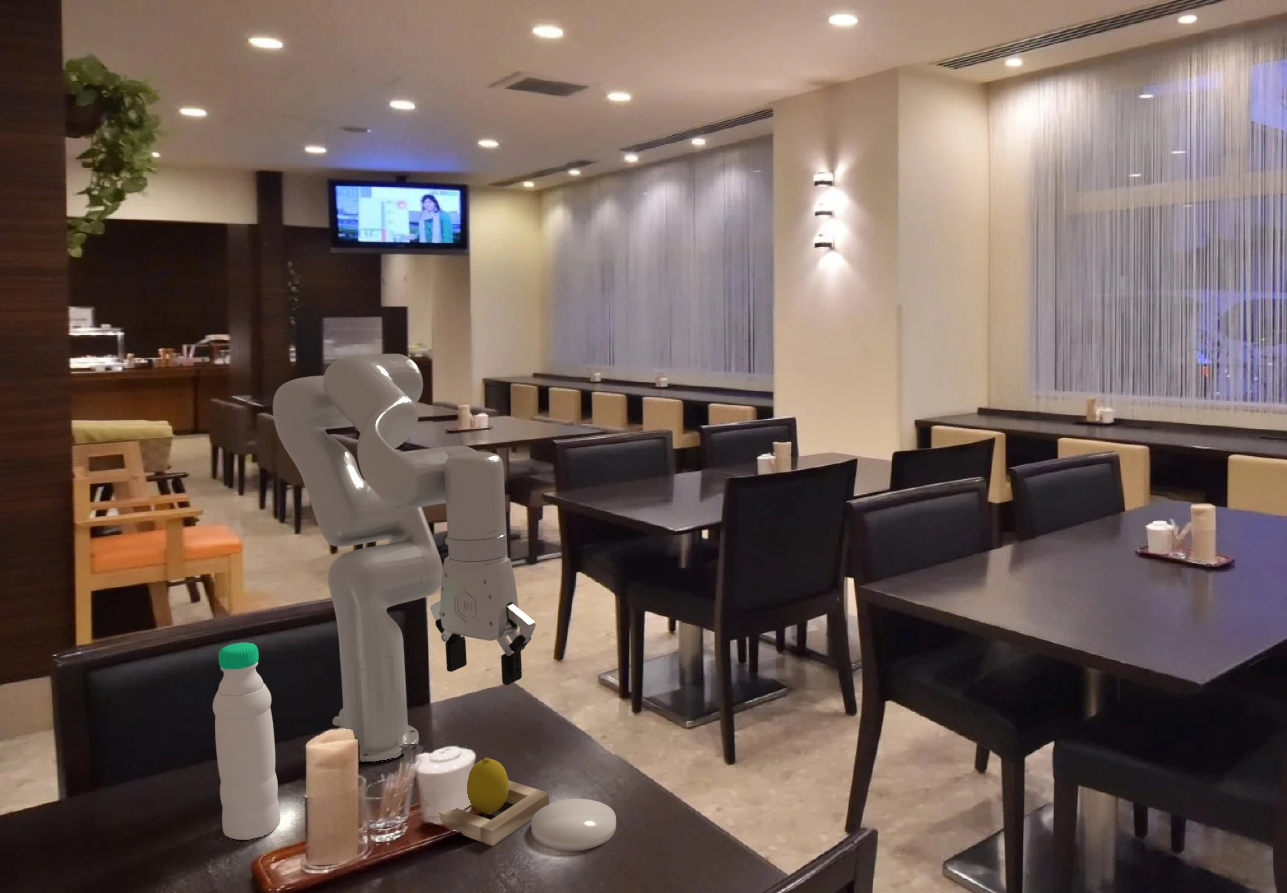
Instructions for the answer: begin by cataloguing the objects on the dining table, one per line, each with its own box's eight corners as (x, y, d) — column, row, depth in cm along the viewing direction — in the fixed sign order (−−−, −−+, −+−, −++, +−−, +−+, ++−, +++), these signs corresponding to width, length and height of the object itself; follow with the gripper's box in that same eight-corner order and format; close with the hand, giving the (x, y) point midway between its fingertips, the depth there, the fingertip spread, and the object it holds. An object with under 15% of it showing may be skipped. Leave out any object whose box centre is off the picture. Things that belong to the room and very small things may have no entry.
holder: (427, 822, 130) (426, 807, 129) (486, 786, 139) (485, 773, 139) (492, 846, 123) (492, 831, 123) (549, 807, 133) (548, 793, 133)
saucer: (514, 836, 126) (513, 827, 125) (566, 799, 135) (565, 791, 135) (582, 860, 120) (582, 851, 120) (632, 820, 129) (632, 812, 129)
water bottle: (292, 822, 130) (279, 642, 127) (248, 848, 124) (233, 659, 121) (255, 811, 133) (241, 634, 130) (211, 835, 127) (195, 651, 124)
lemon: (501, 827, 128) (499, 769, 127) (462, 823, 129) (459, 766, 128) (515, 806, 133) (513, 750, 132) (477, 802, 134) (474, 747, 133)
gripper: (409, 547, 128) (416, 672, 130) (509, 562, 118) (515, 697, 121) (449, 535, 134) (455, 655, 136) (548, 549, 125) (553, 677, 127)
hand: (484, 675), depth 128 cm, fingers open, 9 cm apart
